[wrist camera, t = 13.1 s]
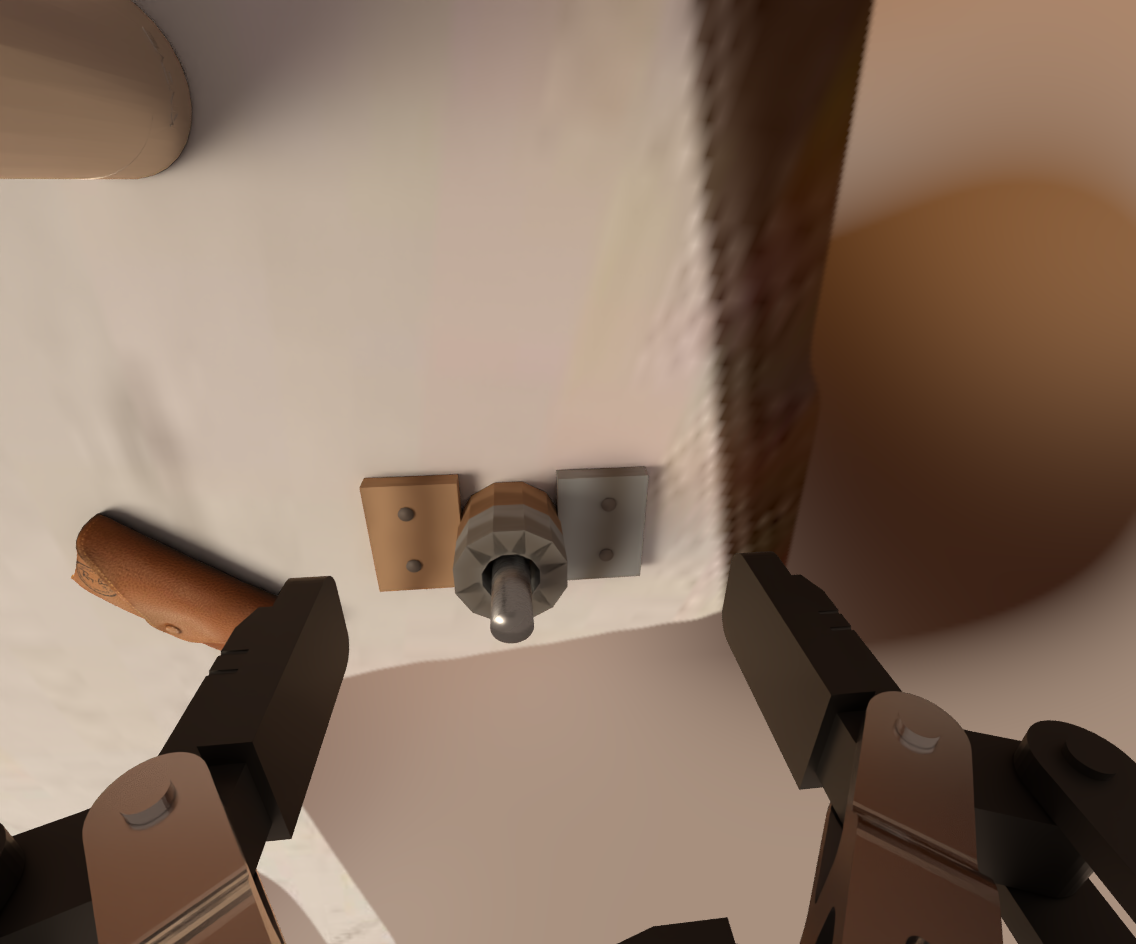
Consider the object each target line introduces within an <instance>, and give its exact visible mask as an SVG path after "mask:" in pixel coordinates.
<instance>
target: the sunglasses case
mask: <svg viewBox="0 0 1136 944" xmlns="http://www.w3.org/2000/svg"><path fill="white" fill-rule="evenodd" d="M76 549H77V562H76V570H75V574H74V575H72V577H71V579H73V580H74V581H75V582H77V583H78V584H79V585H80V586H81V587H83V588H84V589H85V590H87V591H88V592H90V593H92V594H94V595H96V596H98V597H100V598H102V599H104V600H106V601H108V602H109V603H112V604H114V605H115V606H118V607H120V608H122V609H124V610H126V611H128V612H130V613H133V614H135V615H137V616H140V617H142V618H144V619H146V621H147V622H148V623H149V624H150V625H151V626H153V627H155V628H156V629H158V630H161V631H163V632H166V633H168V634H170V635H173V636H175V637H177V638H180V639H182V640H185V641H189V642H195V643H203V644H206V645H208V646H210V647H213V648H216V649H218V650H220V651H221V650H222V649H223V647H224V645H225V644H226V642H227V640H228V639H229V637H230V635H231V634H232V632H233V630H234V629H235V627H237V626H238V625H239V624H240V623H241V622H242V621H243V620H245V619H246V618H247V617H248V616H249V615H250V614H251V613H253V612H254V611H255V610H256V609H257V608H258V607H270V606H273V604H274V602H275V601H276V599H277V597H278V596H277V595H275V594H272V593H268V592H266V591H264V590H262V589H260V588H258V587H255V586H253V585H250V584H247V583H244V582H242V581H240V580H238V579H237V578H235V577H232V576H230V575H228V574H226V573H224V572H222V571H220V570H218V569H216V568H213V567H211V566H209V565H207V564H204V563H202V562H200V561H197V560H195V559H193V558H191V557H188V556H186V555H185V554H183V553H181V552H179V551H177V550H175V549H173V548H171V547H168V546H166V545H164V544H162V543H160V542H158V541H155V540H153V539H151V538H149V537H147V536H145V535H143V534H141V533H139V532H137V531H135V530H133V529H131V528H129V527H127V526H124V525H122V524H120V523H118V522H116V521H114V520H112V519H110V518H108V517H105V516H103V515H100V514H99V513H98V514H96V515H95V516H94V517H93V518H91V519H90V520H89V521H88V522H87V523H86V524H85V525H84V526H83V527H82V529H81V531H80V532H79V534H78V537H77V540H76Z"/></svg>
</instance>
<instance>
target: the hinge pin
mask: <svg viewBox="0 0 1136 944" xmlns="http://www.w3.org/2000/svg"><path fill="white" fill-rule="evenodd" d="M490 629H491V633H492V635H493V636H494V637H495V638H496V639H497V640H499V641H501V642H504V643H518V642H521V641H523V640H525V639H527V638H528V637H529V636H530V635H531V634H532V632H533V629H534V620H533V606H532V591H531V577H530V562H529V558H526V557H524V556H521V555H519V554H514V555H501V556H500V557H498V558H496V559H494V560H492V589H491V624H490Z"/></svg>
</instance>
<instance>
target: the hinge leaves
mask: <svg viewBox="0 0 1136 944" xmlns="http://www.w3.org/2000/svg"><path fill="white" fill-rule="evenodd" d="M648 478H649V475H648V473H647V471H646V469H645V467H624V468H600V469H576V470H556V498H557V508H556V507H555V505H554V504H553V502H552V501H551V499H550V498H549V497H548V495H547V494H546V492H544V491H541V490H539V489H537V488H535V487H533V486H530V485H528V484H526V483H524V482H502V483H493V484H491V485H490V486H488V487H486V488H484V489H482V490H481V491H479V492H477V493H475V494H474V495H472V496H471V497H470V499H469V501H468V502H467V504H466V506H465V508H464V509H463V511H461V501H460V491H459V481H458V474H456V475H433V476H409V477H385V478H364V479H363V481H362V484H361V486H360V493H361V498H362V503H363V509H364V514H365V519H366V524H367V529H368V534H369V539H370V544H371V549H372V554H373V559H374V565H375V570H376V575H377V580H378V585H379V590H380V592H383V591H399V590H415V589H432V588H448V587H455V594H456V595H457V596H458V597H459V598H460V599H461V600H462V601H463V602H464V604H465V605H466V606H467V607H468V608H469V609H470V610H471V611H472V612H473V613H475V614H478V615H481V616H484V617H487V618H490V619H491V589H492V560H494V559H496V558H498V557H500V556H501V555H514V554H519V555H521V556H524V557H526V558H529V562H530V577H531V591H532V606H533V617H535V616H537V615H538V614H540V613H542V612H544V611H546V610H548V609H550V608H552V607H553V606H554V605H555V603H556V602H557V600H558V599H559V598H560V596H561V595H562V593H563V592H564V591H565V589H566V588H567V580H579V579H595V578H612V577H628V576H640V570H641V559H642V547H643V536H644V524H645V513H646V501H647V490H648Z"/></svg>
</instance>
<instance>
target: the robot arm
mask: <svg viewBox="0 0 1136 944" xmlns="http://www.w3.org/2000/svg"><path fill="white" fill-rule="evenodd" d="M191 108H192V106H191V100H190V94H189V88H188V84H187V81H186V78H185V75H184V73H183V70H182V67H181V64H180V62H179V60H178V58H177V57H176V55H175V53H174V51H173V49H172V47H171V46H170V44H169V42H168V41H167V39H166V38H165V37H164V35H163V34H162V33H161V31H160V30H159V29H158V27H157V26H156V25H155V23H154V22H153V21H152V20H151V19H150V18H149V17H148V16H147V15H146V14H145V13H144V12H143V11H142V10H141V9H140V8H139V7H138V6H137V5H136V4H135V3H133V2H132V1H130V0H0V179H140V178H144V177H149V176H153V175H155V174H157V173H159V172H161V171H163V170H165V169H166V168H168V167H169V166H170V165H171V164H172V163H173V162H174V161H175V160H176V159H177V158H178V157H179V155H180V154H181V152H182V150H183V148H184V146H185V145H186V143H187V139H188V135H189V131H190V128H191ZM722 622H723V628H724V633H725V637H726V639H727V642H728V644H729V646H730V648H731V650H732V652H733V654H734V656H735V658H736V660H737V662H738V664H739V666H740V669H741V671H742V673H743V675H744V677H745V679H746V681H747V683H748V685H749V687H750V689H751V691H752V693H753V695H754V697H755V699H756V702H757V704H758V706H759V708H760V710H761V712H762V714H763V716H764V718H765V720H766V722H767V724H768V726H769V728H770V730H771V732H772V734H773V736H774V738H775V741H776V743H777V745H778V747H779V749H780V751H781V752H782V755H783V757H784V759H785V761H786V763H787V765H788V767H789V769H790V771H791V773H792V776H793V778H794V780H795V781H796V784H797V786H798V788H799V789H810V788H820V787H823V788H824V790H825V792H826V794H827V796H828V798H829V800H830V804H829V807H828V810H827V813H826V819H825V824H824V829H823V835H822V840H821V845H820V851H819V856H818V861H817V867H816V873H815V877H814V883H813V888H812V893H811V899H810V905H809V909H808V915H807V919H806V923H805V927H804V930H803V934H802V937H801V941H800V944H1003V935H1002V922H1001V917H1002V919H1003V920H1004V922H1005V924H1006V925H1007V927H1008V928H1009V930H1010V932H1011V933H1012V935H1013V936H1014V938H1015V940H1016V941H1017V943H1018V944H1136V938H1135V937H1134V935H1133V934H1132V933H1131V932H1130V930H1129V929H1128V928H1127V927H1126V925H1125V924H1124V923H1123V921H1122V920H1121V919H1120V918H1119V917H1118V915H1117V914H1116V912H1115V911H1114V910H1113V909H1112V907H1111V906H1110V905H1109V904H1108V902H1107V901H1106V900H1105V898H1104V897H1103V896H1102V895H1101V894H1100V892H1099V891H1098V890H1097V888H1096V887H1095V886H1094V884H1093V883H1092V882H1091V881H1090V880H1089V876H1090V875H1091V874H1092V873H1093V872H1095V874H1096V875H1097V876H1098V877H1099V879H1100V880H1101V881H1102V882H1103V884H1104V885H1105V886H1106V887H1107V889H1108V890H1109V891H1110V892H1111V894H1112V895H1113V896H1114V897H1115V899H1116V900H1117V901H1118V902H1119V904H1120V905H1121V906H1122V907H1123V908H1124V910H1125V911H1126V912H1127V913H1128V915H1129V916H1130V917H1131V919H1132V920H1133V921H1134V922H1135V923H1136V763H1135V762H1134V761H1133V760H1132V759H1131V758H1130V757H1129V756H1127V755H1126V754H1125V753H1124V752H1123V751H1121V750H1120V749H1119V748H1117V747H1116V746H1115V745H1113V744H1112V743H1110V742H1109V741H1107V740H1106V739H1104V738H1102V737H1100V736H1098V735H1097V734H1095V733H1092V732H1090V731H1088V730H1086V729H1084V728H1081V727H1079V726H1075V725H1073V724H1069V723H1065V722H1060V721H1050V720H1047V721H1040V722H1037V723H1035V724H1033V725H1032V726H1031V727H1030V728H1029V730H1028V731H1027V733H1026V735H1025V736H1024V738H1023V740H1022V741H1017V740H1013V739H1008V738H1002V737H997V736H993V735H988V734H982V733H977V732H972V731H968V730H964V729H962V727H961V726H960V725H959V724H958V722H956V720H955V719H953V718H952V717H951V716H950V715H949V714H948V713H947V712H945V711H944V710H943V709H941V708H940V707H938V706H937V705H935V704H934V703H932V702H930V701H928V700H926V699H924V698H921V697H919V696H916V695H913V694H910V693H905V692H902V691H901V690H900V688H899V687H898V686H897V684H896V683H895V682H894V681H893V679H892V678H891V677H890V675H889V674H888V673H887V672H886V670H885V669H884V668H883V667H882V665H881V664H880V663H879V662H878V660H877V659H876V658H875V656H874V655H873V654H872V652H871V651H870V650H869V649H868V647H867V646H866V645H865V643H864V642H863V641H862V640H861V638H860V637H859V636H858V634H857V633H856V632H855V631H854V630H851V625H850V624H849V623H848V622H847V620H846V619H845V618H844V617H843V615H842V614H839V613H838V609H837V608H836V606H835V605H834V604H833V602H832V601H831V600H830V599H829V598H828V596H827V595H826V594H825V592H824V591H823V590H822V589H820V588H819V587H818V586H816V585H815V584H813V583H812V582H810V581H809V580H808V579H806V578H805V577H803V576H802V575H791V574H790V572H789V571H788V570H787V568H786V567H785V566H784V564H783V563H782V561H781V560H780V559H779V557H778V556H777V555H776V554H775V553H774V552H754V553H737V554H735V555H734V556H733V558H732V561H731V566H730V571H729V577H728V582H727V588H726V593H725V599H724V604H723V610H722ZM348 656H349V638H348V632H347V628H346V624H345V620H344V615H343V611H342V607H341V603H340V599H339V595H338V591H337V587H336V583H335V581H334V579H333V577H331V576H320V577H303V578H290V579H288V580H287V581H286V582H285V584H284V586H283V588H282V590H281V591H280V593H279V595H278V597H277V599H276V601H275V602H274V604H273V606H270V607H258V608H257V609H256V610H255V611H254V612H253V613H251V614H250V615H249V616H248V617H247V618H246V619H245V620H243V621H242V622H241V623H240V624H239V625H238V626H237V627H235V629H234V630H233V632H232V634H231V635H230V637H229V639H228V640H227V642H226V644H225V645H224V647H223V649H222V650H221V656H218V657H217V659H216V660H215V662H214V664H213V665H212V667H211V669H210V670H209V676H206V677H205V679H204V680H203V682H202V684H201V685H200V687H199V689H198V690H197V692H196V694H195V695H194V697H193V699H192V700H191V702H190V704H189V705H188V707H187V709H186V710H185V712H184V714H183V715H182V717H181V719H180V720H179V722H178V724H177V725H176V727H175V729H174V730H173V732H172V734H171V735H170V737H169V739H168V740H167V742H166V744H165V745H164V747H163V749H162V750H161V752H160V753H159V755H158V756H157V757H154V758H151V759H149V760H147V761H145V762H143V763H140V764H139V765H137V766H135V767H133V768H132V769H130V770H128V771H127V772H126V773H124V774H123V775H121V776H120V777H119V778H117V779H116V780H115V781H114V782H113V783H112V784H110V785H109V786H108V787H107V788H106V789H105V790H104V792H103V793H102V794H101V795H100V796H99V797H98V799H97V800H96V801H95V802H94V804H93V805H92V807H91V808H90V809H87V810H85V811H82V812H80V813H77V814H74V815H71V816H68V817H65V818H63V819H60V820H57V821H54V822H51V823H48V824H46V825H43V826H40V827H37V828H34V829H31V830H29V831H26V832H23V833H20V834H17V835H15V836H11V835H10V834H9V832H8V831H7V830H6V829H5V827H4V826H3V825H2V824H1V823H0V944H286V942H285V939H284V937H283V934H282V932H281V929H280V927H279V924H278V922H277V919H276V917H275V914H274V912H273V909H272V906H271V904H270V901H269V899H268V897H267V894H266V891H265V889H264V886H263V884H262V881H261V879H260V876H259V873H258V871H257V869H256V868H257V865H258V862H259V859H260V856H261V854H262V851H263V848H264V845H265V842H266V841H275V840H285V839H291V838H292V835H293V832H294V829H295V826H296V823H297V820H298V817H299V814H300V811H301V807H302V804H303V801H304V798H305V795H306V791H307V789H308V786H309V782H310V779H311V776H312V773H313V770H314V767H315V764H316V761H317V758H318V754H319V751H320V748H321V745H322V742H323V739H324V736H325V733H326V730H327V727H328V723H329V720H330V717H331V714H332V711H333V707H334V705H335V702H336V699H337V695H338V692H339V689H340V686H341V683H342V680H343V677H344V674H345V671H346V667H347V663H348ZM618 944H736V943H735V941H734V938H733V934H732V931H731V927H730V924H729V921H728V918H727V917H726V918H719V919H710V920H702V921H694V922H686V923H678V924H669V925H661V926H653V927H651V928H649V929H647V930H645V931H643V932H641V933H639V934H637V935H635V936H632V937H630V938H628V939H626V940H624V941H622V942H620V943H618Z"/></svg>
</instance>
